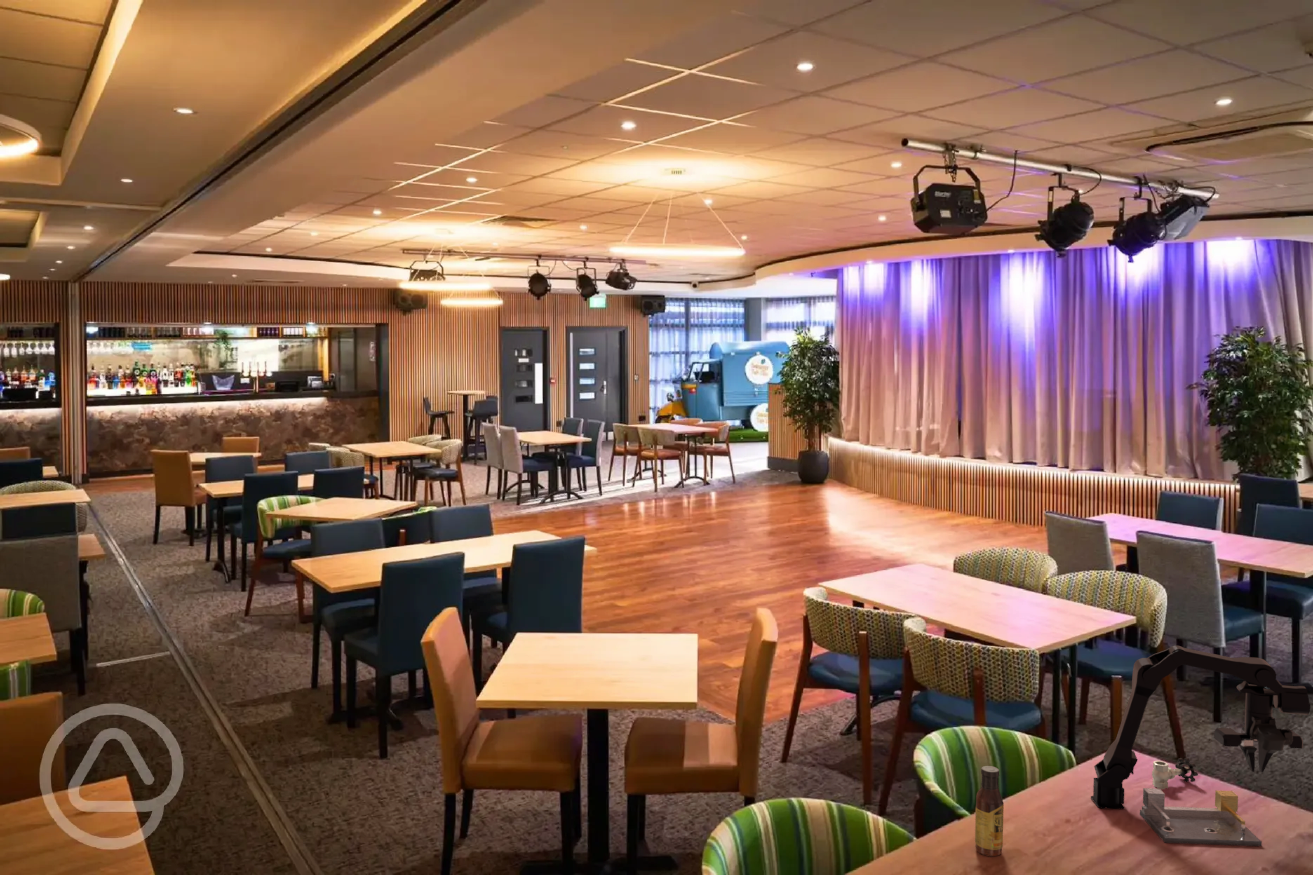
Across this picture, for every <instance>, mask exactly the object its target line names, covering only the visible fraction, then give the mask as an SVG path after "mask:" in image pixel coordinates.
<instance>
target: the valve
mask: <svg viewBox="0 0 1313 875" xmlns="http://www.w3.org/2000/svg"><path fill="white" fill-rule="evenodd" d="M1177 762H1179V763H1177V764H1175V765H1174V767H1175V768H1172V767H1169V764H1168V763H1167V762H1165V761H1162V760H1154V761H1153V762H1152V768H1153V769H1152V771H1151V777H1152V785H1154V786H1153V788H1155V787H1157V788H1156V789H1160V790H1166V789H1165V788H1167V789H1168V788H1169V782H1168V781H1169V780H1174V779H1175V777H1176V776H1178V777H1181V778H1182V779H1183V781H1184V782H1185V781H1186V782H1185V783H1188V782H1191V783H1195V782H1196V778H1195V777H1197V776H1199V773H1198V771H1196V770H1195V768H1197V767H1196V766H1197V765H1196V763H1190V758H1188V757H1187V758H1186V757H1185V758H1182V757H1180V758H1177ZM1184 765H1186V766H1184ZM1189 773H1190V775H1187V774H1189ZM1187 781H1188V782H1187Z"/></svg>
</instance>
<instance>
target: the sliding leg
mask: <svg viewBox="0 0 1313 875" xmlns="http://www.w3.org/2000/svg"><path fill="white" fill-rule="evenodd" d="M1214 794H1215V795H1214V806H1215V808H1218V809H1219V810H1220V811H1228V812H1229V813H1230V814H1231V815H1232V816H1233V817H1234V818H1235V819H1236V820H1237V821H1238V822H1240V823H1241V831H1243V832H1245V827H1246V820H1244V818H1242V817H1241V816H1240V815H1239V814H1238V811H1239V810H1238V807H1239V806H1238V803H1239V795H1237V794H1236V793H1235V791H1233V790H1215V793H1214ZM1235 812H1236V813H1235Z"/></svg>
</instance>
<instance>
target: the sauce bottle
mask: <svg viewBox="0 0 1313 875" xmlns="http://www.w3.org/2000/svg"><path fill="white" fill-rule="evenodd" d="M980 772H981V783H980V784H981V787H980V789H979V790H978V791H977V792H976V797H975V801H976V803H975V818H974V820H975V821H974V822H975V824H974V826H975V827H974V843H975V846H974V847H975V850H976V851H977V852H978V853H979V854H981V855H983V856H988V857H996V856H1000V855H1001V854H1003V853H1002V852H1003V847H1004V801H1003V797H1002V794H1001V792H1000V789H999V788H1000V787H999V777H1000V769H999V768H997V767H995V766H991V765H984V766H982V767H981V768H980Z"/></svg>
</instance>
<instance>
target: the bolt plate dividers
mask: <svg viewBox="0 0 1313 875" xmlns="http://www.w3.org/2000/svg"><path fill="white" fill-rule="evenodd" d="M1142 790H1143V793H1142V806H1141V809H1139V815H1140V816H1141V817H1142V819H1143V820H1144V821H1145V822H1146V823H1147V825H1149V826H1150V828H1151V829H1152V830H1153V831H1154V832H1155V834H1156V835H1158V837H1159V838H1160V839H1161V840H1162V841H1163V842H1164V844H1168V843H1169V844H1185V845H1186V844H1189V845H1190V844H1191V845H1213V846H1214V845H1217V846H1219V845H1221V846H1223V845H1224V846H1241V847H1242V846H1244V847H1245V846H1246V847H1248V846H1249V847H1262V845H1263V844H1262V840H1261V839H1260V838H1259V837H1258V836H1256V835H1255V834H1254V832H1252V831H1251V830H1250V829H1249V828H1248V827H1246V826H1245V832H1243V831H1241V823H1240V822H1238V821H1237V820H1236V819H1235V818H1234V817H1233V816H1232V815H1231V814H1230V813H1229V812H1228V811H1220V810H1219V809H1218V808H1217V807H1215V808H1214V807H1193V806H1192V807H1189V806H1165V798H1166V797H1165V796H1166V794H1165V792H1163V790H1162V789H1159V788H1154V787H1153V788H1150V787H1147V788H1146V787H1145V788H1144V787H1143V788H1142ZM1235 813H1237V812H1235Z"/></svg>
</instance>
